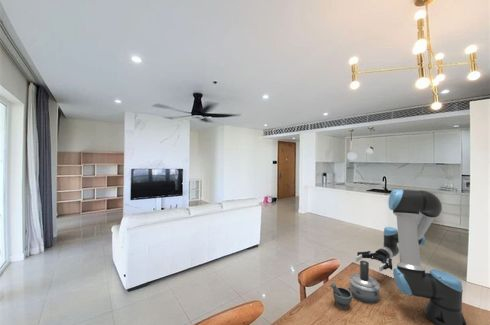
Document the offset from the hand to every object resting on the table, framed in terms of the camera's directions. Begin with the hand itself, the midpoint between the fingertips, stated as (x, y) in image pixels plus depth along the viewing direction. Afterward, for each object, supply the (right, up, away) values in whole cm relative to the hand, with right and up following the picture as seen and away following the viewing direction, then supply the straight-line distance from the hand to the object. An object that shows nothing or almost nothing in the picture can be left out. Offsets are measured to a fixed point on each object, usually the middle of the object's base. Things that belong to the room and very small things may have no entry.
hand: (367, 264), depth 126 cm
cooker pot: (-3, -17, -2) cm, 18 cm away
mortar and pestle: (-21, -18, -10) cm, 29 cm away
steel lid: (-3, -9, -2) cm, 10 cm away
